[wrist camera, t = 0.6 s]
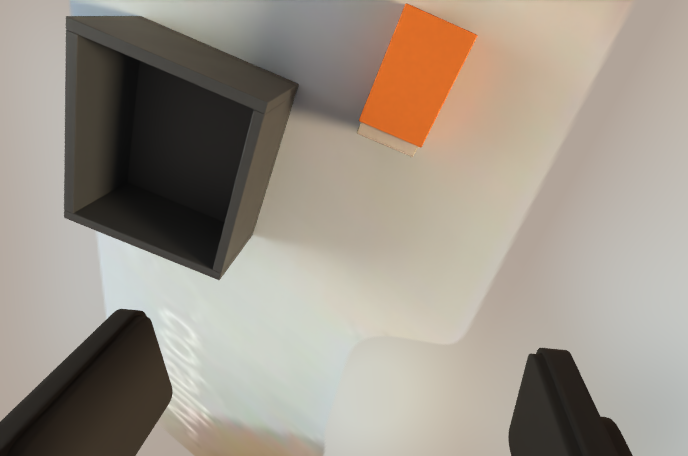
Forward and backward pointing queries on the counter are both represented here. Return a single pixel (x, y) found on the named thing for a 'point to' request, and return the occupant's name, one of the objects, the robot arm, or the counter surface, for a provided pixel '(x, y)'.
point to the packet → (414, 79)
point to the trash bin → (168, 139)
